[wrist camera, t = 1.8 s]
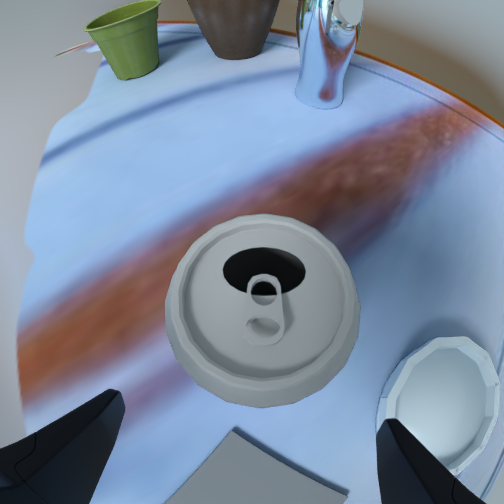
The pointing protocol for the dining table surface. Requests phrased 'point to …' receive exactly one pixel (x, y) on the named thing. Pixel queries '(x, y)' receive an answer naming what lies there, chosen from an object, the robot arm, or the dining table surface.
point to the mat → (250, 479)
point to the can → (262, 311)
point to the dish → (445, 399)
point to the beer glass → (325, 48)
